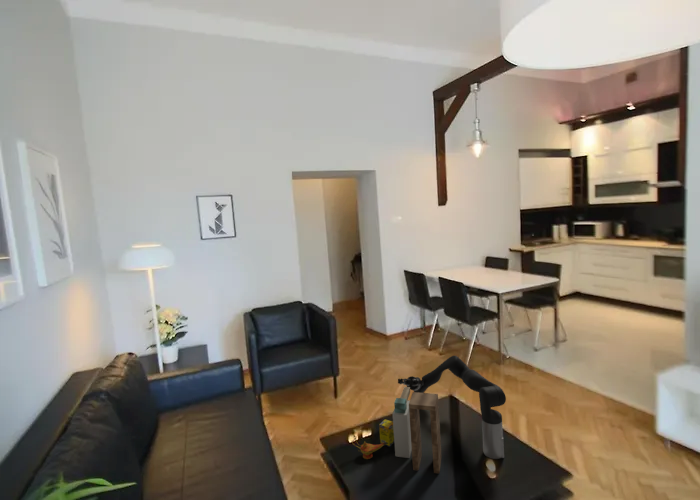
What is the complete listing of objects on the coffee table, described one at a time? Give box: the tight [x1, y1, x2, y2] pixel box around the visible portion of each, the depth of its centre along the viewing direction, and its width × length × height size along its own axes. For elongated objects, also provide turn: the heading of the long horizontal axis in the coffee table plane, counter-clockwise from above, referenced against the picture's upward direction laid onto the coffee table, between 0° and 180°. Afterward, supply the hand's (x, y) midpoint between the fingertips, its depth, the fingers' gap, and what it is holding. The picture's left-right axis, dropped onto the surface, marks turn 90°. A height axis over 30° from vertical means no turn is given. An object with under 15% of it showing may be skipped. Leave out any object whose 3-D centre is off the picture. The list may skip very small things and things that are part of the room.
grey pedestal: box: [392, 399, 412, 459], centre depth 190 cm, size 7×14×22 cm, turn 162°
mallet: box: [393, 386, 411, 413], centre depth 193 cm, size 5×22×5 cm, turn 162°
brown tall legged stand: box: [409, 391, 442, 474], centre depth 176 cm, size 12×12×32 cm
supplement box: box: [378, 419, 395, 448], centre depth 196 cm, size 6×6×11 cm
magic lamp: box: [351, 434, 388, 460], centre depth 186 cm, size 7×18×11 cm, turn 83°
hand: (408, 381), depth 209 cm, fingers open, 8 cm apart
